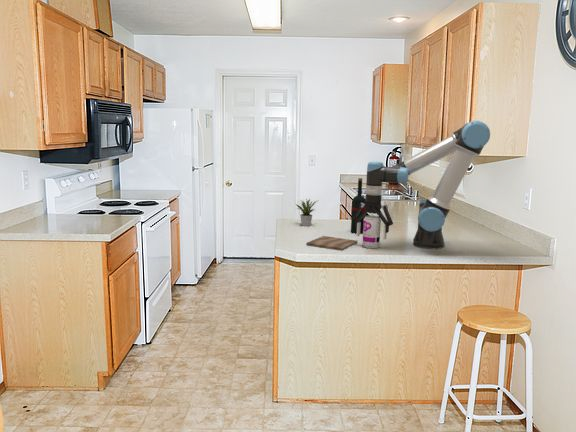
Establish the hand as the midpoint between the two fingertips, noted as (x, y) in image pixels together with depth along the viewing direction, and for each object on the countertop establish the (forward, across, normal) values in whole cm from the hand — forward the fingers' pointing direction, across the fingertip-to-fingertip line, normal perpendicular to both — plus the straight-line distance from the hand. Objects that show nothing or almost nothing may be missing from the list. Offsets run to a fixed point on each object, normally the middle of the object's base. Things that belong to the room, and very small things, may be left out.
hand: (371, 237), depth 250 cm
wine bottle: (+5, -17, +27) cm, 32 cm away
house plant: (+5, -50, +29) cm, 58 cm away
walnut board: (+5, -18, -6) cm, 20 cm away
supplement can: (+5, 0, 0) cm, 5 cm away
